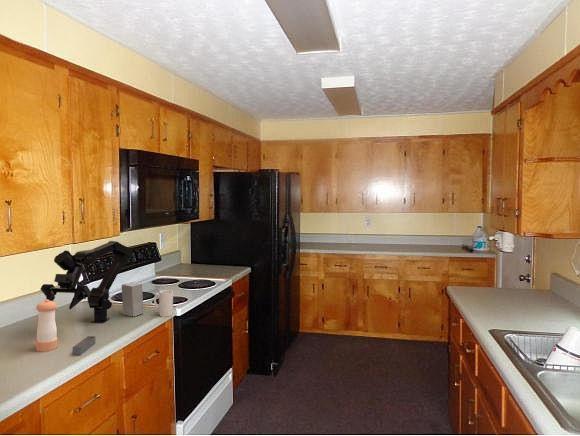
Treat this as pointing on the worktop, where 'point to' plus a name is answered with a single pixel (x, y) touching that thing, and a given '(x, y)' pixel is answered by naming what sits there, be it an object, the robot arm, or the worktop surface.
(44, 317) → the salt shaker
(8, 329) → the worktop surface
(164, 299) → the mug
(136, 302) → the skincare box
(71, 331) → the worktop surface
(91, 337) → the steel bar
